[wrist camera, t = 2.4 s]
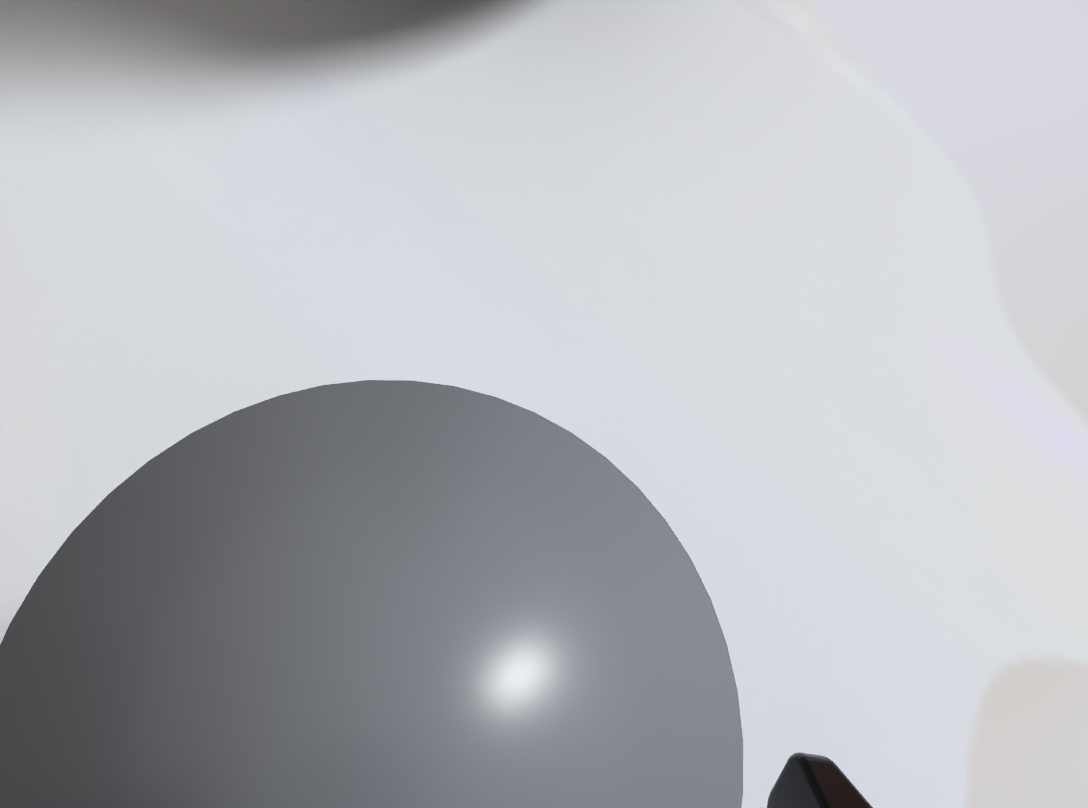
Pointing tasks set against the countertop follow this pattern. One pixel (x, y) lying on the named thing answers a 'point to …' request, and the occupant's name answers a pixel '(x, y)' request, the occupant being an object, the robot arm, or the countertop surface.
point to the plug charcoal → (371, 624)
